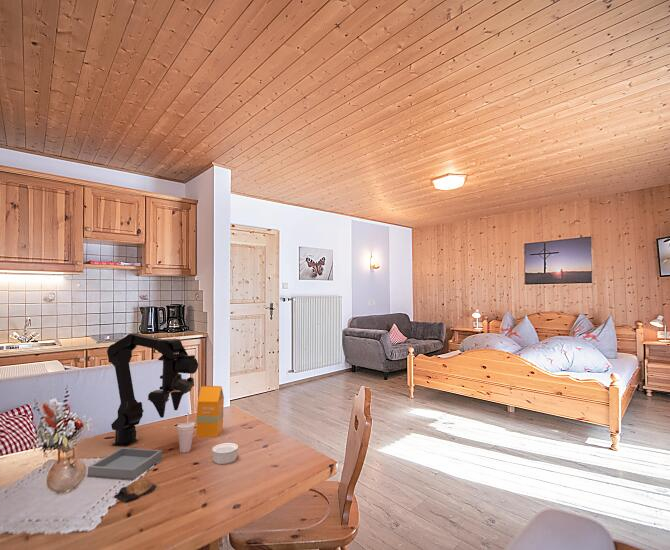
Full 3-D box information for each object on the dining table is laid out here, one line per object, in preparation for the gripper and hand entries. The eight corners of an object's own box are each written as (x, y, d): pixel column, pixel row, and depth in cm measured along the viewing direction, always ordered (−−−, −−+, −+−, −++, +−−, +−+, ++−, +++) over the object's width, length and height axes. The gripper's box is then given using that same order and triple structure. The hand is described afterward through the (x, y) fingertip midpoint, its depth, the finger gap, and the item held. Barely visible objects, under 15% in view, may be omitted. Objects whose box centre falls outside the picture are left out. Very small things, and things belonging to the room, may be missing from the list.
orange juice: (216, 437, 151) (218, 388, 153) (195, 437, 151) (197, 388, 153) (222, 430, 159) (224, 384, 161) (202, 430, 159) (204, 383, 161)
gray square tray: (87, 476, 117) (88, 466, 117) (121, 456, 132) (122, 447, 132) (132, 480, 115) (132, 470, 115) (161, 459, 130) (162, 450, 130)
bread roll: (143, 483, 114) (143, 470, 115) (162, 489, 111) (162, 476, 111) (109, 499, 105) (110, 485, 105) (129, 506, 101) (130, 492, 101)
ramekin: (207, 459, 130) (207, 447, 131) (229, 452, 137) (229, 440, 137) (220, 467, 124) (220, 454, 125) (242, 459, 131) (242, 447, 131)
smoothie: (187, 454, 134) (189, 415, 135) (172, 453, 135) (173, 414, 136) (197, 448, 140) (199, 410, 141) (182, 446, 141) (184, 409, 142)
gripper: (176, 377, 130) (175, 422, 129) (202, 368, 149) (201, 407, 148) (148, 376, 132) (146, 421, 131) (176, 367, 150) (175, 406, 149)
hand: (169, 413), depth 139 cm, fingers open, 9 cm apart
